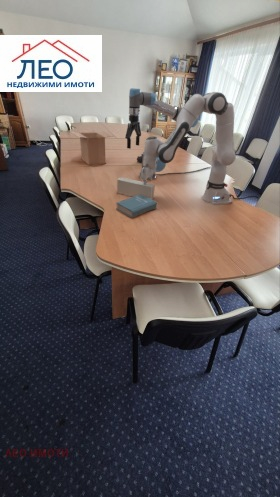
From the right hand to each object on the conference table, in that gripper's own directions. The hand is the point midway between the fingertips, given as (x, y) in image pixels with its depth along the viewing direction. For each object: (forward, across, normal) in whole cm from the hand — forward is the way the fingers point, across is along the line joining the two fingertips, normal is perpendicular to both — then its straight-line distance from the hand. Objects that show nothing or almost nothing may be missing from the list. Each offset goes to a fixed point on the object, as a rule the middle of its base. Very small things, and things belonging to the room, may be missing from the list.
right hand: (147, 182), depth 160 cm
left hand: (-18, +20, +22) cm, 34 cm away
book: (+12, -20, -2) cm, 24 cm away
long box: (+12, 0, +9) cm, 16 cm away
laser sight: (+12, +87, +36) cm, 95 cm away
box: (+13, +58, +86) cm, 105 cm away
